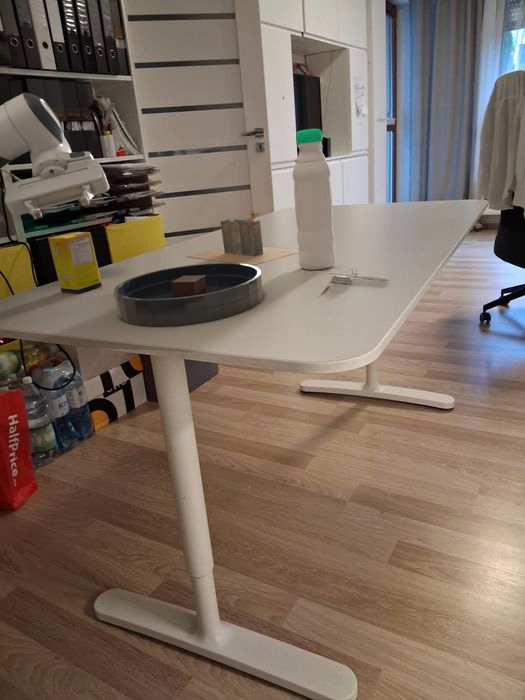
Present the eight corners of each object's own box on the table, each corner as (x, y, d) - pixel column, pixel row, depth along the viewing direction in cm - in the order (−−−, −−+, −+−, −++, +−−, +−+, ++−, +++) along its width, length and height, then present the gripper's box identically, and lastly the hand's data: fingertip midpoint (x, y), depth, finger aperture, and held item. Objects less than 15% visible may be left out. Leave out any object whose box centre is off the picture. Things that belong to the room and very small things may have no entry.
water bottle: (340, 262, 104) (333, 127, 95) (329, 270, 98) (321, 127, 89) (306, 262, 107) (297, 131, 98) (294, 270, 101) (283, 132, 92)
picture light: (391, 281, 86) (391, 269, 86) (377, 288, 84) (377, 275, 83) (324, 274, 96) (323, 263, 95) (309, 280, 93) (308, 268, 92)
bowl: (187, 339, 69) (182, 307, 68) (90, 318, 84) (84, 291, 82) (292, 294, 85) (290, 267, 84) (195, 283, 100) (192, 260, 98)
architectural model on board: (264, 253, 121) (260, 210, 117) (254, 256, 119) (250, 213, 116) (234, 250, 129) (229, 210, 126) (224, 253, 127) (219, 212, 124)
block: (197, 306, 82) (193, 281, 80) (175, 306, 83) (171, 282, 82) (208, 299, 85) (204, 275, 84) (186, 299, 87) (183, 275, 85)
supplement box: (84, 284, 109) (72, 231, 105) (102, 286, 106) (91, 231, 102) (60, 292, 105) (46, 237, 101) (78, 294, 101) (65, 237, 97)
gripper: (-2, 174, 107) (-1, 209, 98) (97, 149, 110) (106, 181, 101) (12, 201, 111) (14, 236, 103) (106, 176, 115) (116, 208, 106)
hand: (61, 209), depth 102 cm, fingers open, 8 cm apart
